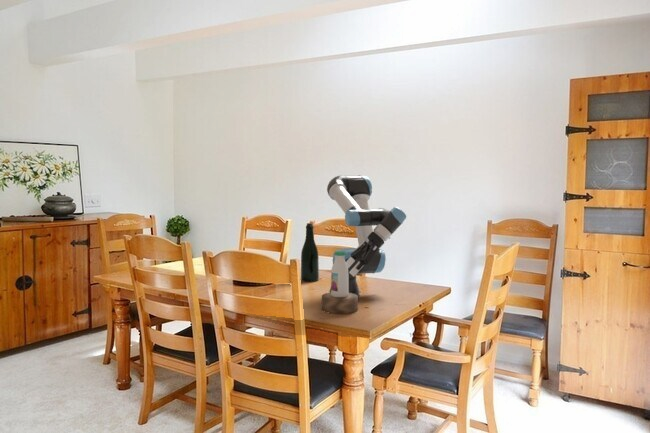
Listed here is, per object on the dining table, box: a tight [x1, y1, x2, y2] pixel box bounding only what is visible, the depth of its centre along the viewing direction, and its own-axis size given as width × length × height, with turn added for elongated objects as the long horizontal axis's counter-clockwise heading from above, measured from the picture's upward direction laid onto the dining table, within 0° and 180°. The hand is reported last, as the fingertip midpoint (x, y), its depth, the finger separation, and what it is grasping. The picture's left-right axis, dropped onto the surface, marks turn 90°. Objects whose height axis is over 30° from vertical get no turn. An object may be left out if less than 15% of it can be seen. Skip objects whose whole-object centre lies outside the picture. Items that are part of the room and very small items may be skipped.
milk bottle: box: [330, 250, 349, 298], centre depth 221 cm, size 8×8×20 cm
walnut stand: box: [321, 292, 359, 315], centre depth 222 cm, size 16×16×6 cm
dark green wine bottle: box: [300, 222, 320, 282], centre depth 285 cm, size 10×10×33 cm
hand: (347, 271), depth 221 cm, fingers open, 13 cm apart
